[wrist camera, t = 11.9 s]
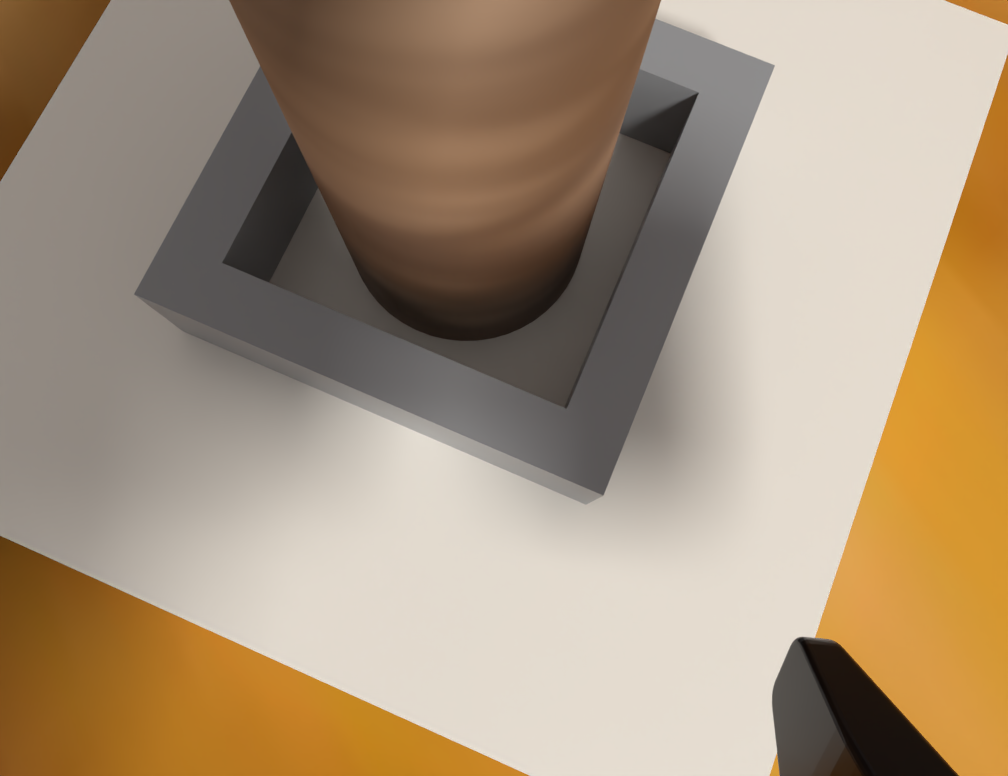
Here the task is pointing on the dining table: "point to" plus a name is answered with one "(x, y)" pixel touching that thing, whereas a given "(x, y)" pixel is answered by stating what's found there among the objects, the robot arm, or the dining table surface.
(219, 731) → the dining table surface
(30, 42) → the dining table surface
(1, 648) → the dining table surface
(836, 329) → the square socket base
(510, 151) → the brown cylinder
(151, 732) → the dining table surface
